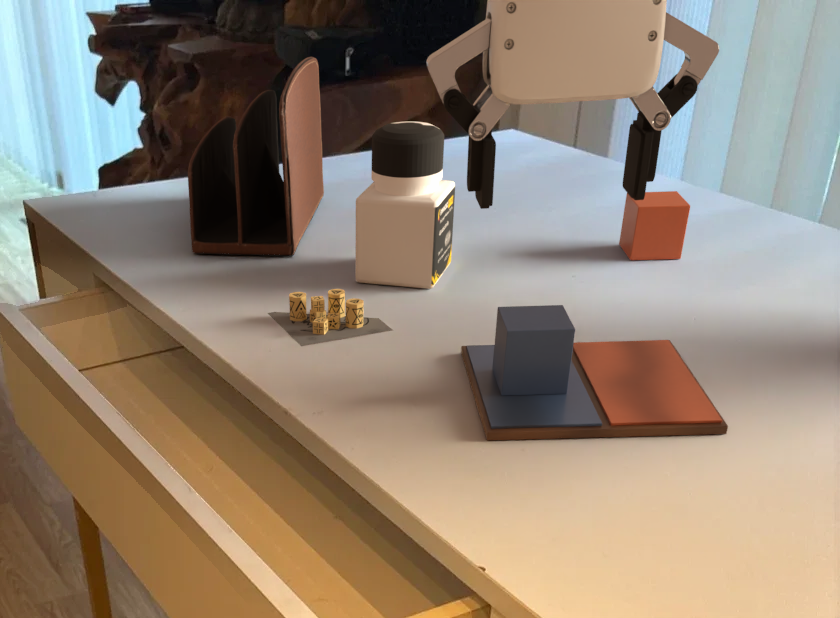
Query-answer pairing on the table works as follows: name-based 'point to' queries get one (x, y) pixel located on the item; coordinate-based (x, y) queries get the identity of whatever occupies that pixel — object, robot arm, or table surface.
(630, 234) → the terracotta block
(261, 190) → the letter holder
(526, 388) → the slate-blue block
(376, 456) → the table surface
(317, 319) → the dice set
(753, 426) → the table surface
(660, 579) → the table surface
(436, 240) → the medicine bottle
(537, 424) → the sorting board
